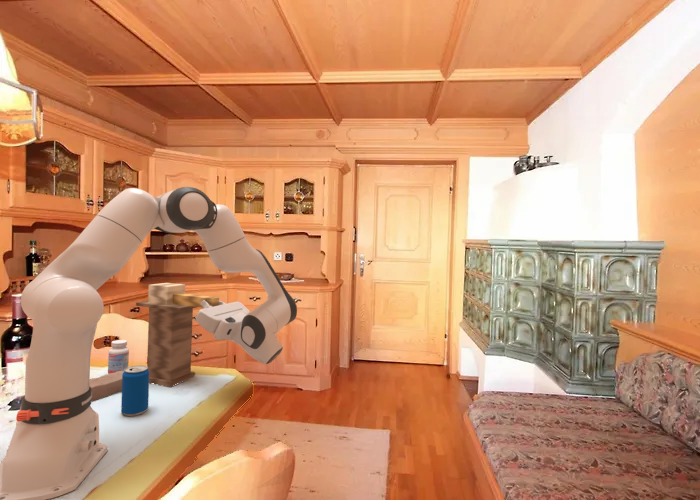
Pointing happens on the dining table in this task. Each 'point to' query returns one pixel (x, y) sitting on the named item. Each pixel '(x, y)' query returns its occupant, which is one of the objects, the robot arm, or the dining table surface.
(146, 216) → the robot arm
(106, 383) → the brick
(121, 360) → the pill bottle
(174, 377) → the walnut shelf post
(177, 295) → the beech mallet
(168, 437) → the dining table surface
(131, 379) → the beverage can
